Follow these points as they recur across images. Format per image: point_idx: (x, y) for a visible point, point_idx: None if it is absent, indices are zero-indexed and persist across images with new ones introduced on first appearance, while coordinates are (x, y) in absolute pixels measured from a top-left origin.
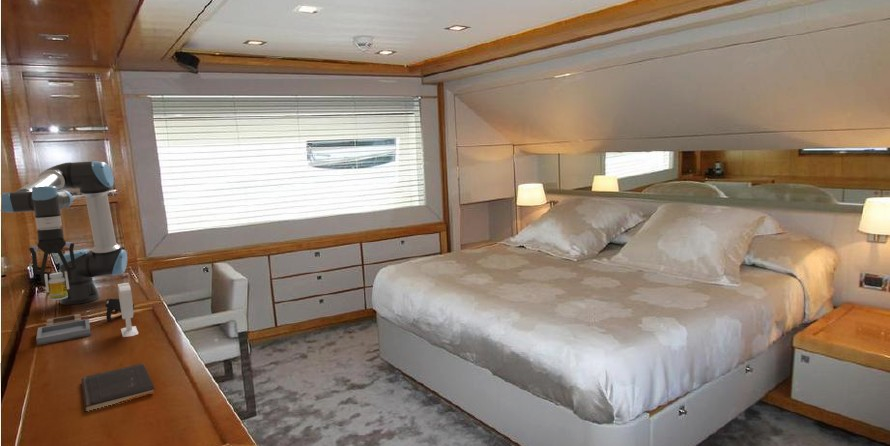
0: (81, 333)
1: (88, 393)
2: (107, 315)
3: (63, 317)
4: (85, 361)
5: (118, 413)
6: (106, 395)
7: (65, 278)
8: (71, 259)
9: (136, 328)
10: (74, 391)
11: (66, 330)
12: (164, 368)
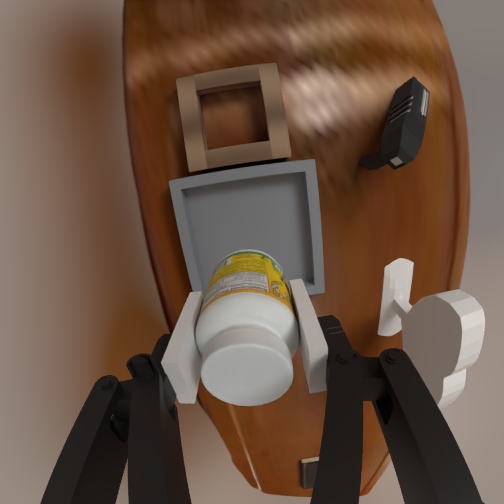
0: None
1: (306, 481)
2: (369, 166)
3: (226, 84)
4: (306, 419)
5: None
6: None
7: (303, 362)
8: (397, 456)
9: (410, 285)
10: (294, 467)
11: (253, 213)
12: (376, 448)
